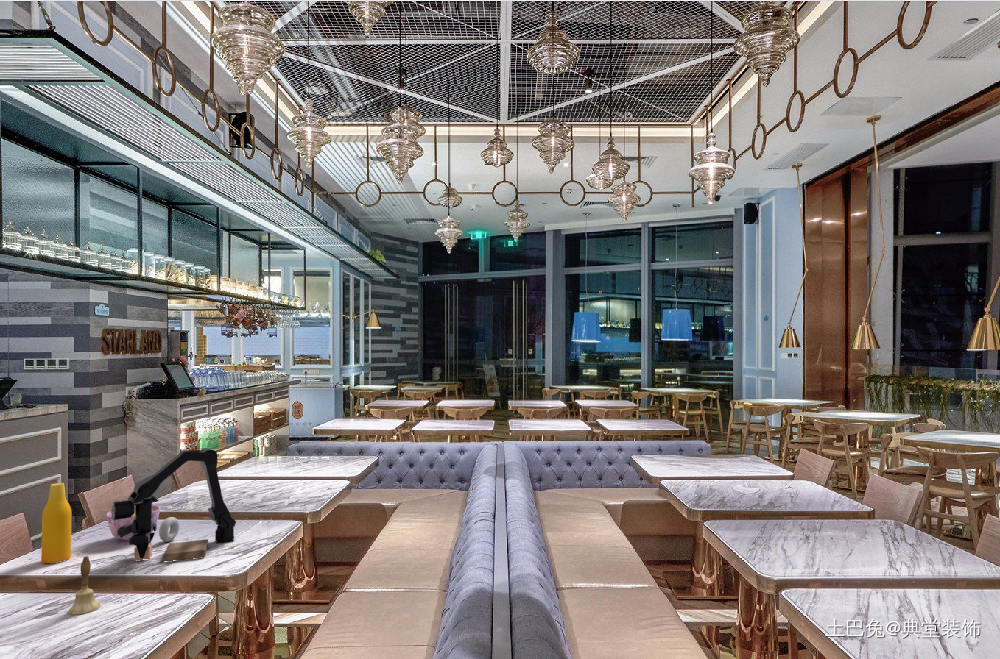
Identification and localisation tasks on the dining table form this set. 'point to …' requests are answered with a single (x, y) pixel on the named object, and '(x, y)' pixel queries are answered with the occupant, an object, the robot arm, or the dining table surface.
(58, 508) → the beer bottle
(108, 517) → the bowl of food
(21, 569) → the dining table surface
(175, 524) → the donut
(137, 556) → the terracotta block
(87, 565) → the hand bell
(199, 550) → the walnut base
